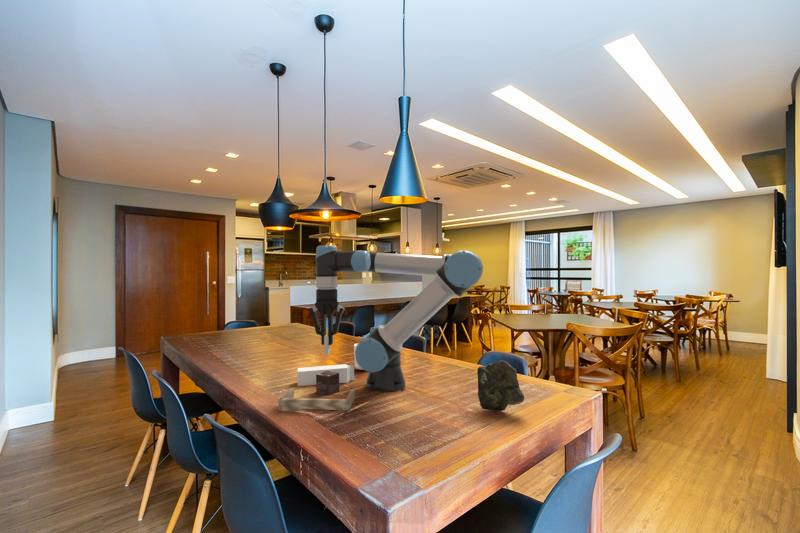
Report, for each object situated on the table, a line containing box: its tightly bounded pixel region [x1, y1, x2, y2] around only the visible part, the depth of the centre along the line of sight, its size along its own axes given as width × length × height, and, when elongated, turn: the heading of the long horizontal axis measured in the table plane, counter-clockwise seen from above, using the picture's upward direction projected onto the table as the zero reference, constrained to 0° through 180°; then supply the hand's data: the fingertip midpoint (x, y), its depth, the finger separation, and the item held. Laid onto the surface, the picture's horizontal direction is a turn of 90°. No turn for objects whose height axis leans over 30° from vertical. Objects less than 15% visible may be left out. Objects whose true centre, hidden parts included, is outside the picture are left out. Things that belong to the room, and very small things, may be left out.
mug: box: [353, 342, 365, 371], centre depth 174 cm, size 11×9×10 cm
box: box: [315, 371, 340, 396], centre depth 139 cm, size 6×6×7 cm
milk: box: [297, 363, 355, 387], centre depth 152 cm, size 6×6×22 cm
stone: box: [476, 359, 525, 412], centre depth 122 cm, size 15×10×15 cm
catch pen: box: [277, 387, 356, 414], centre depth 126 cm, size 22×11×4 cm, turn 86°
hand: (327, 353), depth 139 cm, fingers closed
